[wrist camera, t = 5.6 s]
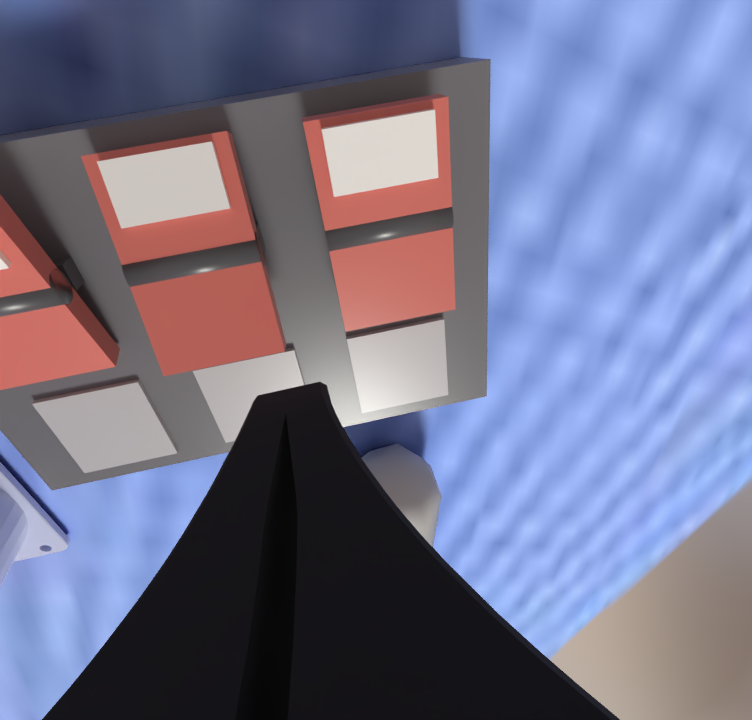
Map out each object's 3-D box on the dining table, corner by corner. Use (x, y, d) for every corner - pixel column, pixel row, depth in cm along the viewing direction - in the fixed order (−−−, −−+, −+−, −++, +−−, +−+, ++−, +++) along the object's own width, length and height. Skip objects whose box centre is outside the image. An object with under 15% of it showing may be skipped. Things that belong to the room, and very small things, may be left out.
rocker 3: (342, 317, 15) (346, 335, 14) (301, 117, 12) (303, 123, 11) (447, 296, 15) (457, 312, 14) (438, 93, 12) (450, 97, 11)
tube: (323, 500, 19) (334, 726, 33) (449, 519, 19) (407, 741, 33) (349, 419, 24) (349, 648, 38) (451, 432, 23) (413, 660, 37)
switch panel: (74, 445, 20) (45, 503, 18) (-138, 158, 13) (-238, 185, 11) (467, 362, 21) (492, 406, 19) (460, 57, 14) (499, 59, 12)
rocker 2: (172, 365, 14) (161, 379, 13) (96, 158, 12) (76, 155, 11) (286, 342, 14) (284, 353, 13) (232, 134, 12) (225, 129, 11)
